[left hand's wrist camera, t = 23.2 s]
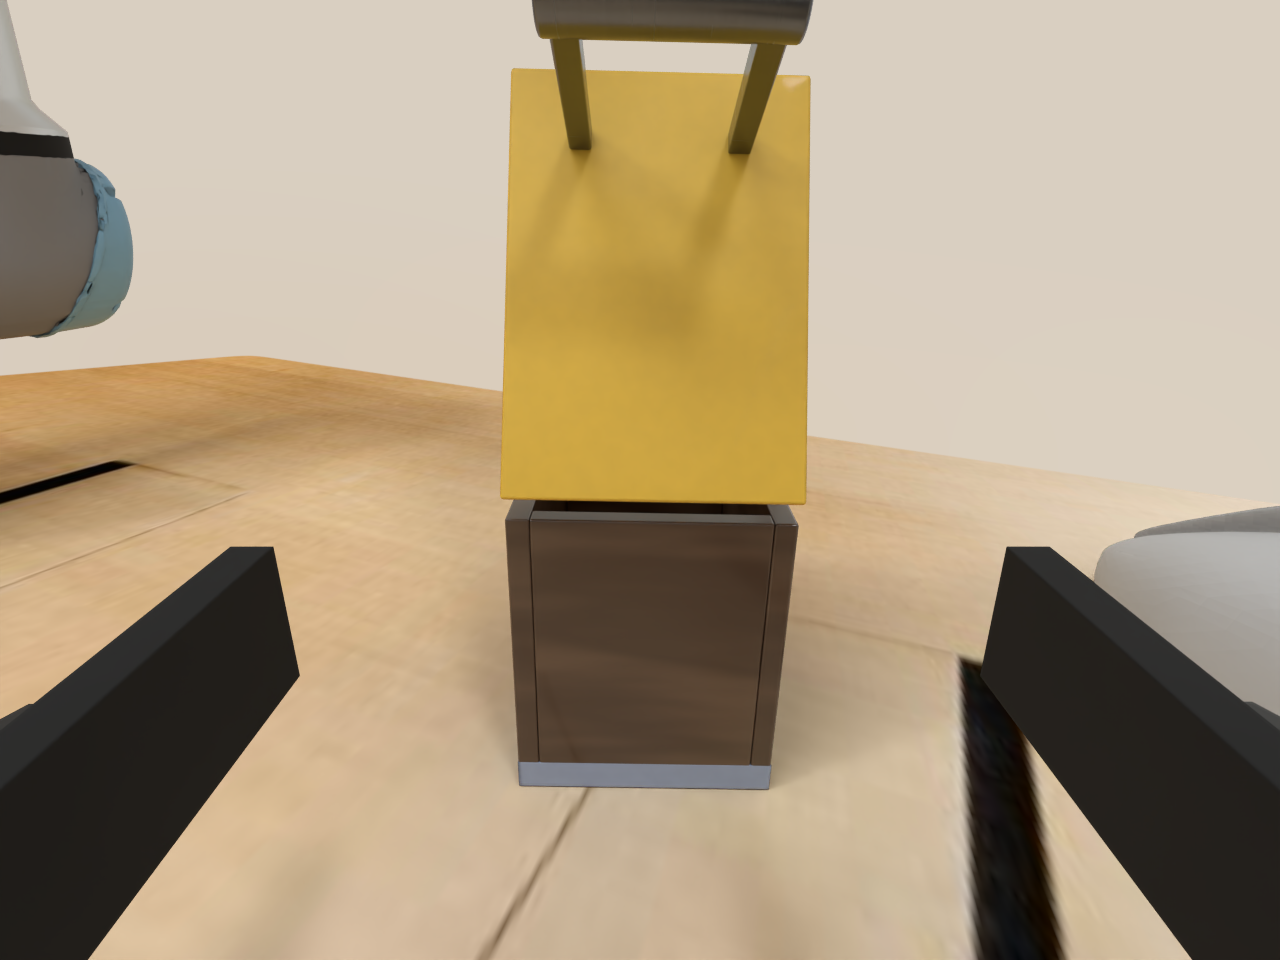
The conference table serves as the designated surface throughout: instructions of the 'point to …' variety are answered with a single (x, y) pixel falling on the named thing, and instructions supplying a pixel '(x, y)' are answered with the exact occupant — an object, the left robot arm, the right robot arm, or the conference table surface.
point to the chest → (648, 640)
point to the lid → (658, 263)
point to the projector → (1209, 594)
